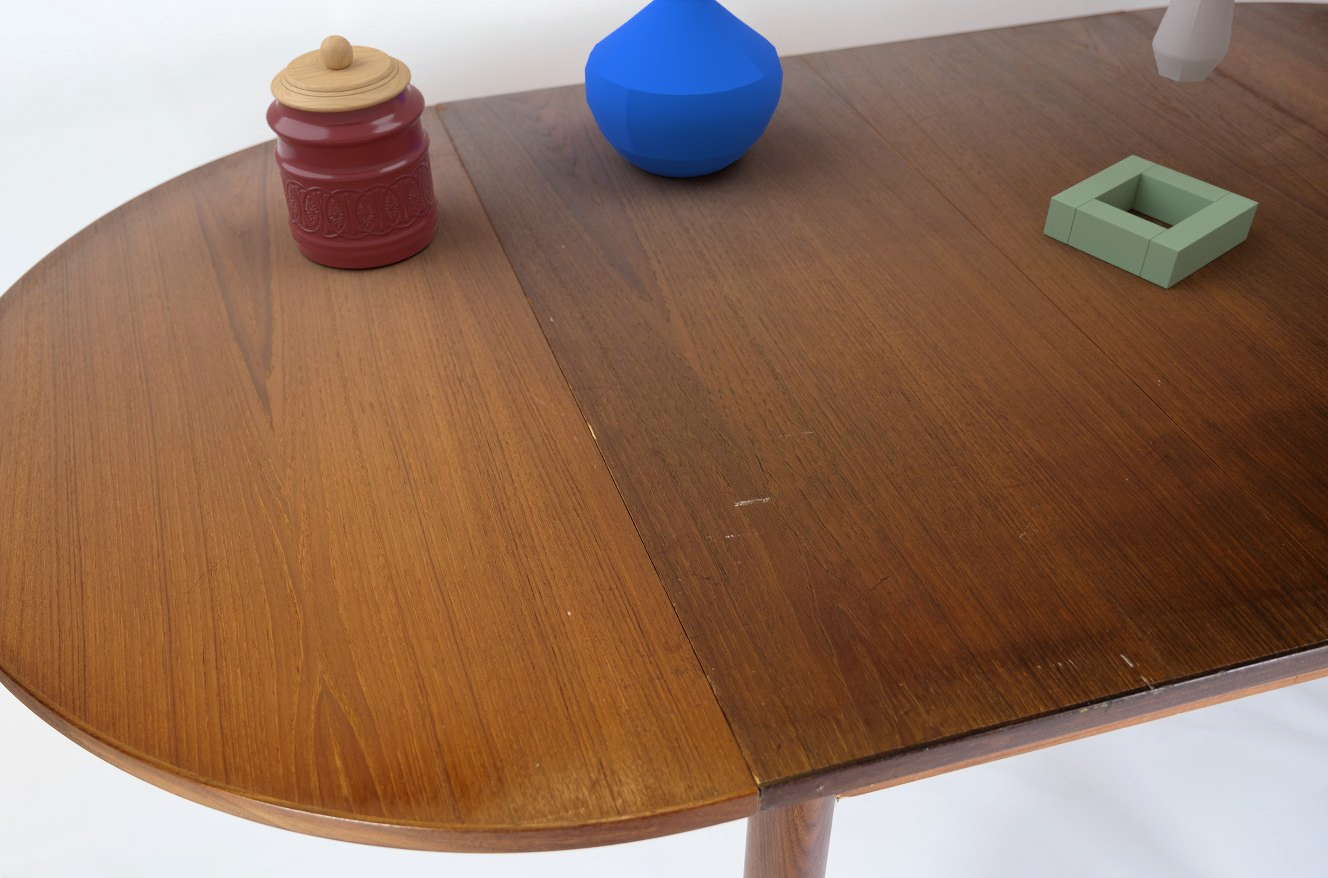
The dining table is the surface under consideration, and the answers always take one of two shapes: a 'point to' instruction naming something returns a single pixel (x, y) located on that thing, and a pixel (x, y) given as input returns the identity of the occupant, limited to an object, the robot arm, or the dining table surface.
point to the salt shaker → (1193, 38)
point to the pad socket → (1140, 246)
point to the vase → (683, 87)
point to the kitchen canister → (353, 156)
